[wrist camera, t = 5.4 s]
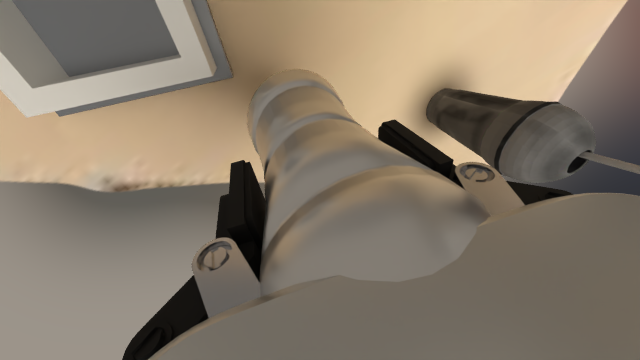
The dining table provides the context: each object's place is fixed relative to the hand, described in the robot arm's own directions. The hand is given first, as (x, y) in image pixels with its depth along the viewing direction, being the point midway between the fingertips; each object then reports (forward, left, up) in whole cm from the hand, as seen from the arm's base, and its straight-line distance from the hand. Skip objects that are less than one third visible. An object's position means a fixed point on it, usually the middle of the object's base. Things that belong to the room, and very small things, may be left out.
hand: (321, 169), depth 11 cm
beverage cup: (+7, +20, -16) cm, 27 cm away
